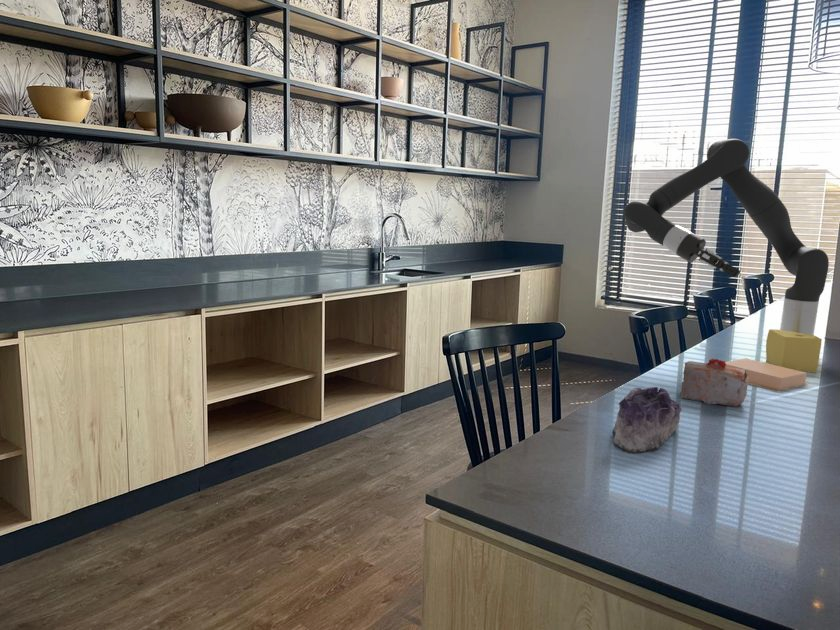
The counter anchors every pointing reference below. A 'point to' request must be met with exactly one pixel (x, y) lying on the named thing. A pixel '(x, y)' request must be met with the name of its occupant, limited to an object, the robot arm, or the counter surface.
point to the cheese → (793, 350)
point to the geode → (645, 420)
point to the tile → (769, 374)
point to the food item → (714, 383)
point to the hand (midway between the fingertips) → (737, 274)
